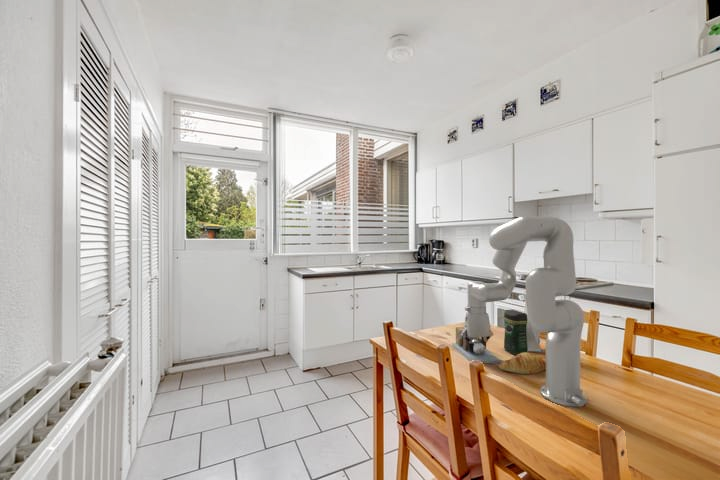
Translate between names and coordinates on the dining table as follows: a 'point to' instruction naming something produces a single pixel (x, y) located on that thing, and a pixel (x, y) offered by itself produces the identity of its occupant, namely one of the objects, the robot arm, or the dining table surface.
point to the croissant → (524, 364)
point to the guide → (465, 343)
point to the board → (484, 358)
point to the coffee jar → (515, 332)
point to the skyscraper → (532, 334)
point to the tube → (477, 346)
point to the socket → (459, 337)
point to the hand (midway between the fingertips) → (477, 350)
